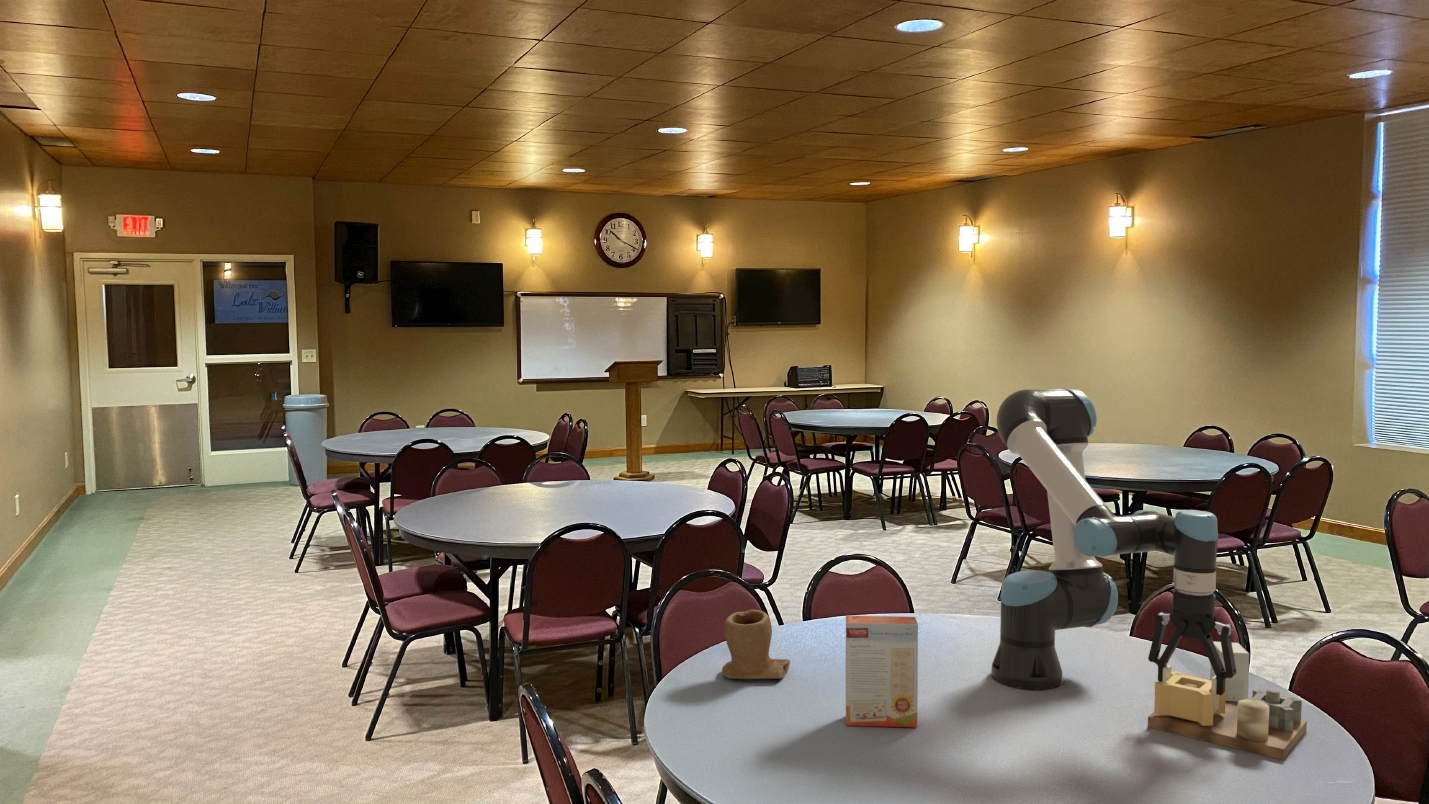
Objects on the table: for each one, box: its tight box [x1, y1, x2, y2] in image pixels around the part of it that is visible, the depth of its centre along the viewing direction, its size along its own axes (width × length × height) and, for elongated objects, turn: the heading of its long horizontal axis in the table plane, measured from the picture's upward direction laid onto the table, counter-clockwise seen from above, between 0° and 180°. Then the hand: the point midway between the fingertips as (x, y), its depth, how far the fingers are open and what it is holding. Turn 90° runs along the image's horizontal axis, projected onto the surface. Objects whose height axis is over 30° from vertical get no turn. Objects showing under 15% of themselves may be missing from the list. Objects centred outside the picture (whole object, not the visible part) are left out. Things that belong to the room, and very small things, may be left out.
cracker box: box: [845, 615, 919, 728], centre depth 207 cm, size 14×6×21 cm, turn 84°
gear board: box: [1147, 684, 1308, 761], centre depth 204 cm, size 24×18×8 cm
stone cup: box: [721, 609, 791, 680], centre depth 234 cm, size 15×12×15 cm
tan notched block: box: [1153, 671, 1227, 726], centre depth 206 cm, size 11×11×6 cm
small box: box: [1209, 641, 1250, 703], centre depth 222 cm, size 8×6×10 cm
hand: (1190, 704), depth 206 cm, fingers open, 8 cm apart
